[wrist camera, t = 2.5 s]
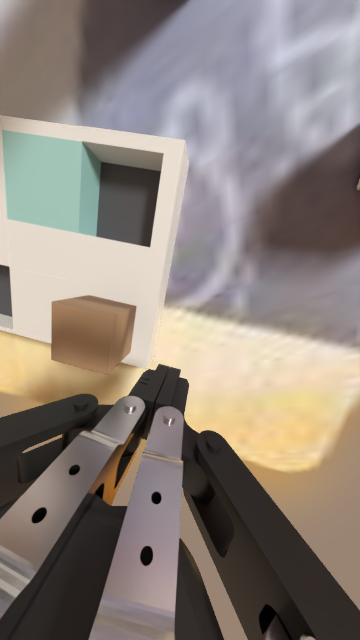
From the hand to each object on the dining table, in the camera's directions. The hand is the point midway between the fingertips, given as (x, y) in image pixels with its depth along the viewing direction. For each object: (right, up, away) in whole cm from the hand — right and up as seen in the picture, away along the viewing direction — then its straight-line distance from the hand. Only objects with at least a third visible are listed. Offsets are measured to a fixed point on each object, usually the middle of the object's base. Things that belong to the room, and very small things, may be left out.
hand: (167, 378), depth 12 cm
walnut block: (-6, +4, +6) cm, 10 cm away
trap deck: (-12, +12, +8) cm, 19 cm away
